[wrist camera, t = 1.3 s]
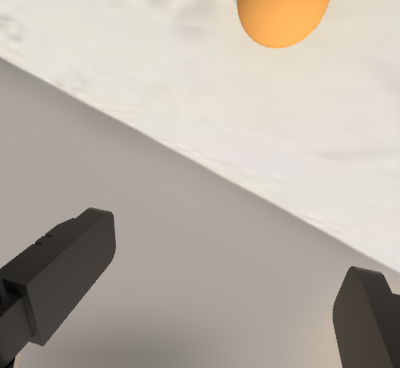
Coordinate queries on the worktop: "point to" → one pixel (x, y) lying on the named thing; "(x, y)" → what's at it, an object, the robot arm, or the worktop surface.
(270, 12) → the ball
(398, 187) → the worktop surface
